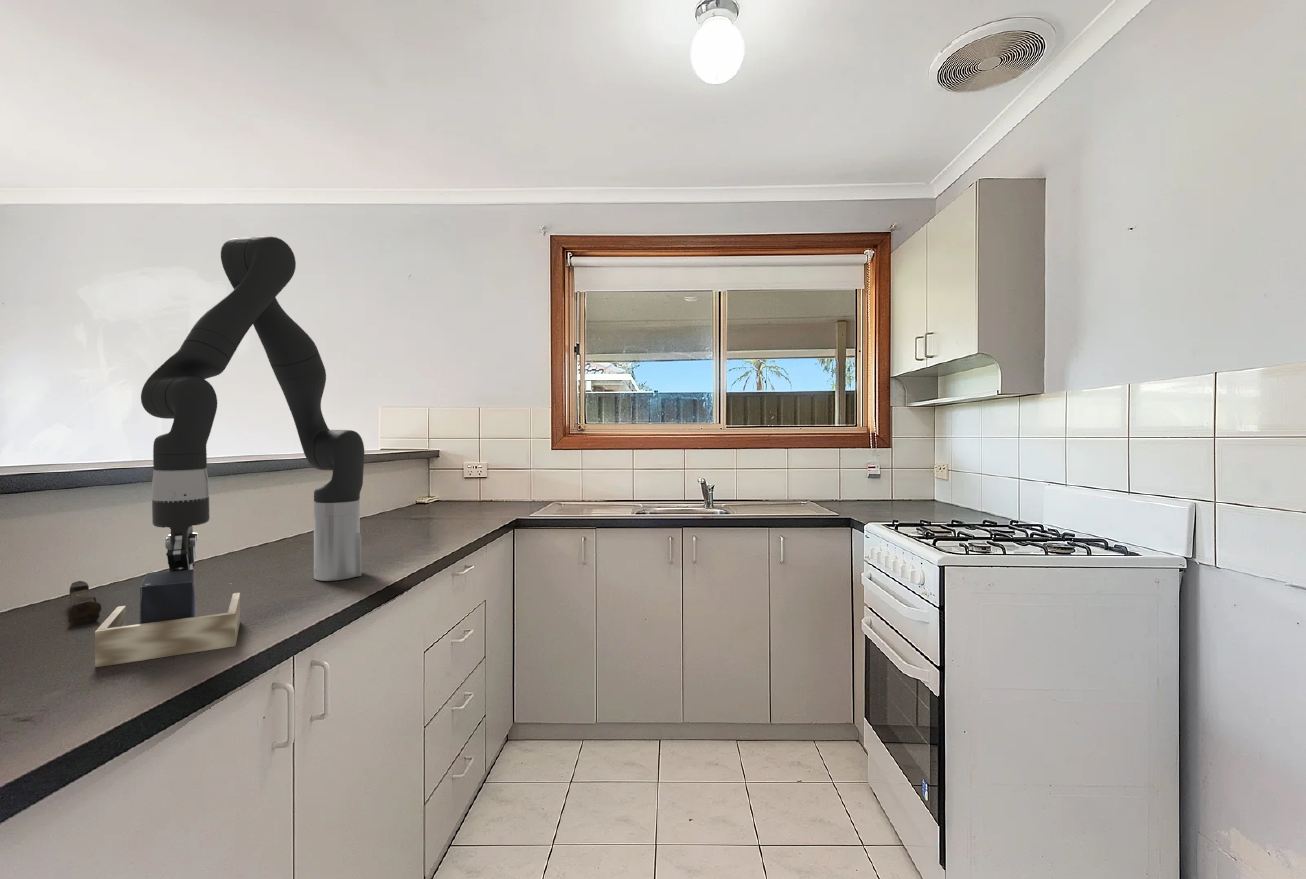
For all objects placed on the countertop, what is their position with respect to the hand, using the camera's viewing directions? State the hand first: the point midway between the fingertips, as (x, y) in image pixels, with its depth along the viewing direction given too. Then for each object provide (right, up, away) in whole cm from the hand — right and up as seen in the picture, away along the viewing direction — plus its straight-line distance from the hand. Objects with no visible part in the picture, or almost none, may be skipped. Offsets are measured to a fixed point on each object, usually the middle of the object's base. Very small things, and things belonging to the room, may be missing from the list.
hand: (183, 598), depth 101 cm
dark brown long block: (-25, -5, +7) cm, 26 cm away
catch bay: (+4, -5, -7) cm, 10 cm away
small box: (+4, -5, -8) cm, 11 cm away
